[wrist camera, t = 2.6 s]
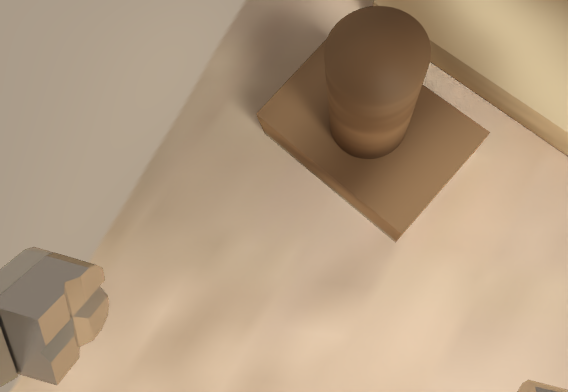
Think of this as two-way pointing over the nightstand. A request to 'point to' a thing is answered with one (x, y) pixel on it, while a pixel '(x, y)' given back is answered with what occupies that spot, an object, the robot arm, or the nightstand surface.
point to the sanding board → (504, 55)
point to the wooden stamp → (373, 119)
